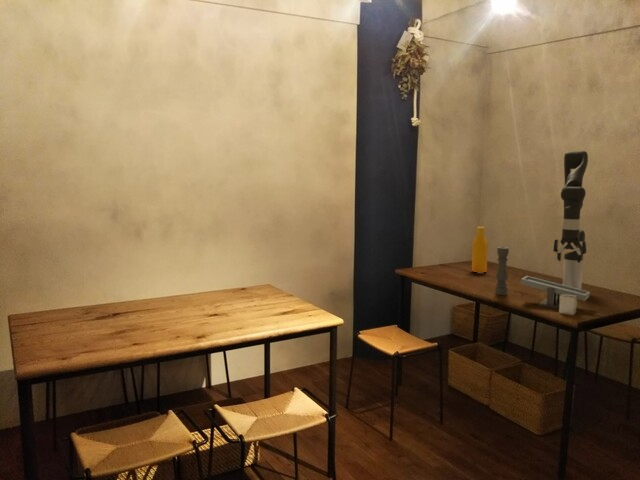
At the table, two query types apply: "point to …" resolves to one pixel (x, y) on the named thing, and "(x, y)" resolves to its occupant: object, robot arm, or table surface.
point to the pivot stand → (551, 299)
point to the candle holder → (502, 271)
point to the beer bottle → (479, 251)
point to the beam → (554, 287)
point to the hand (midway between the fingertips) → (569, 261)
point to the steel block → (568, 304)
